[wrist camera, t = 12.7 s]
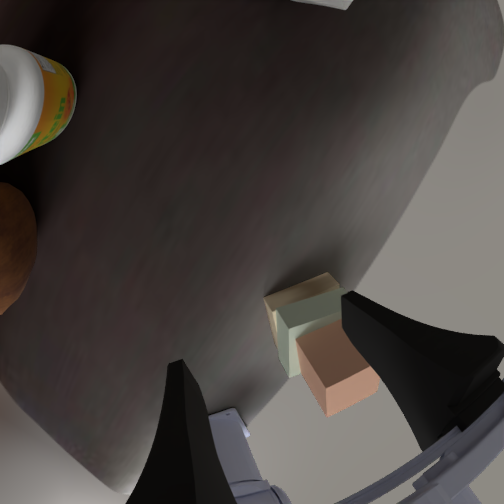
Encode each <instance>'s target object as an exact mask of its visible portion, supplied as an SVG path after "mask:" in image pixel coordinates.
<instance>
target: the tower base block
mask: <svg viewBox="0 0 504 504" xmlns="http://www.w3.org/2000/svg"><path fill="white" fill-rule="evenodd" d="M339 288H340V284H339V283H338V282H337V281H336V280H335V279H334V278H333V277H332V276H331V275H330V274H329V273H328V272H326V273H324V274H321V275H319V276H316V277H314V278H311V279H309V280H306V281H304V282H301V283H299V284H296V285H294V286H291V287H289V288H286V289H284V290H281V291H279V292H276V293H274V294H271V295H268V296H266V297H263V298H264V302H265V306H266V310H267V314H268V318H269V322H270V326H271V331H272V335H273V339H274V343H275V345H276V347H277V349H278V340H277V322H276V308H278V307H281V306H285V305H288V304H291V303H295V302H298V301H301V300H304V299H307V298H311V297H314V296H317V295H320V294H323V293H326V292H329V291H332V290H336V289H339Z"/></svg>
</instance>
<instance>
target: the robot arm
mask: <svg viewBox="0 0 504 504" xmlns="http://www.w3.org/2000/svg"><path fill="white" fill-rule="evenodd" d="M341 316H342V329H343V330H344V332H345V333H346V335H347V337H348V338H349V340H350V341H351V343H352V344H353V346H354V347H355V348H356V349H357V351H358V352H359V353H360V354H361V355H362V357H363V358H364V359H365V360H366V361H367V363H368V364H369V365H370V366H371V367H372V368H373V370H374V371H375V372H376V373H377V374H378V376H379V377H380V378H381V379H382V381H383V382H384V383H385V385H386V386H387V388H388V390H389V391H390V393H391V394H392V396H393V397H394V399H395V400H396V402H397V404H398V406H399V407H400V409H401V411H402V412H403V414H404V416H405V418H406V420H407V422H408V423H409V425H410V427H411V429H412V431H413V433H414V435H415V437H416V439H417V442H418V444H419V446H420V448H421V450H422V451H423V452H422V453H421V454H419V455H418V456H416V457H415V458H414V459H412V460H410V461H409V462H407V463H406V464H404V465H403V466H401V467H400V468H398V469H397V470H395V471H394V472H392V473H391V474H389V475H387V476H386V477H384V478H382V479H380V480H379V481H377V482H375V483H373V484H372V485H370V486H368V487H366V488H364V489H362V490H361V491H359V492H357V493H355V494H353V495H351V496H349V497H347V498H345V499H343V500H341V501H339V502H337V503H335V504H368V503H370V502H372V501H373V500H375V499H377V498H379V497H381V496H382V495H384V494H386V493H387V492H389V491H391V490H392V489H394V488H396V487H397V486H399V485H400V484H402V483H404V482H405V481H407V480H408V479H410V478H411V477H413V476H414V475H416V474H417V473H418V472H420V471H421V470H423V469H424V468H426V467H427V466H428V465H429V464H431V463H432V462H434V461H435V460H436V459H438V458H439V457H440V456H441V457H440V460H439V461H438V462H437V463H436V464H435V465H434V466H432V467H431V468H430V469H428V470H427V471H426V472H424V473H423V475H422V476H421V477H420V478H419V479H417V480H416V481H415V482H414V483H413V487H414V488H415V489H416V491H415V492H414V493H412V494H411V495H409V496H408V497H406V498H405V499H403V500H402V501H400V502H398V503H397V504H481V502H480V501H479V500H478V498H477V497H476V495H475V494H474V493H473V491H472V490H471V489H470V487H469V486H468V485H469V484H470V483H471V482H472V481H473V480H474V479H475V478H476V477H477V476H479V474H481V473H482V472H483V471H484V469H486V467H487V466H488V465H489V464H490V463H491V462H492V461H493V460H494V459H495V458H496V457H497V456H498V455H499V454H500V452H501V451H502V450H503V449H504V378H503V380H501V379H500V378H499V376H500V372H499V371H498V370H497V368H498V366H499V364H500V362H501V361H502V359H503V357H504V344H503V343H501V341H499V340H498V339H497V338H496V337H495V336H487V335H473V334H465V333H459V332H454V331H449V330H445V329H440V328H437V327H433V326H430V325H427V324H424V323H421V322H418V321H415V320H413V319H410V318H408V317H405V316H403V315H401V314H398V313H396V312H394V311H392V310H390V309H388V308H385V307H384V306H382V305H380V304H377V303H375V302H374V301H371V300H370V299H368V298H366V297H364V296H362V295H360V294H358V293H356V292H354V291H350V292H348V293H346V294H344V295H341ZM248 436H250V433H249V431H248V429H247V428H246V426H245V424H244V423H243V421H242V419H241V417H240V416H239V414H238V412H237V411H236V409H235V408H230V409H227V410H225V411H222V412H219V413H216V414H213V415H210V416H208V413H207V409H206V405H205V402H204V399H203V396H202V393H201V390H200V387H199V385H198V383H197V382H196V380H195V378H194V377H193V375H192V374H191V372H190V370H189V369H188V367H187V366H186V364H185V362H184V361H183V359H181V360H178V361H175V362H172V363H169V364H168V367H167V378H166V386H165V393H164V399H163V404H162V410H161V414H160V419H159V423H158V428H157V431H156V435H155V438H154V442H153V445H152V448H151V451H150V454H149V456H148V459H147V462H146V464H145V467H144V469H143V471H142V473H141V476H140V478H139V480H138V482H137V484H136V486H135V488H134V490H133V492H132V493H131V495H130V497H129V499H128V500H127V502H126V504H291V501H290V499H289V498H288V496H287V494H286V493H285V492H284V491H283V490H282V489H281V488H279V487H277V486H275V485H271V486H270V485H269V483H268V480H262V477H261V475H260V472H259V470H258V468H257V465H256V463H255V460H254V458H253V455H252V453H251V450H250V448H249V445H248V443H247V440H246V437H248Z"/></svg>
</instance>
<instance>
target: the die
mask: <svg viewBox="0 0 504 504" xmlns="http://www.w3.org/2000/svg"><path fill="white" fill-rule="evenodd" d="M292 1H296V2H302V3H309V4H316V5H322V6H327V7H333V8H338V9H342V10H346V9H347V8H348V7H349V5H350V4H351V2H352V1H353V0H292Z"/></svg>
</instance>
